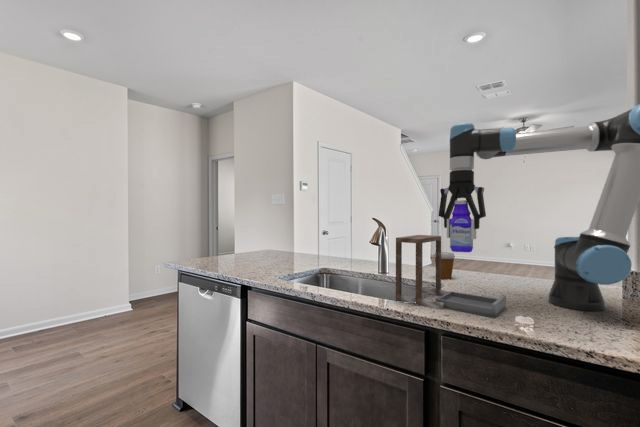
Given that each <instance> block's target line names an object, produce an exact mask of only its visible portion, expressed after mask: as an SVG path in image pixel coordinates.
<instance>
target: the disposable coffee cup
mask: <svg viewBox="0 0 640 427" xmlns="http://www.w3.org/2000/svg"><path fill="white" fill-rule="evenodd" d="M433 257H434V262H435V265H436V251H435V252H434V255H433ZM455 257H456V256H455V252H446V251H445V252H444V251H441V280H443V279H449V280H452V275H453V267H454V260H455Z"/></svg>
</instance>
